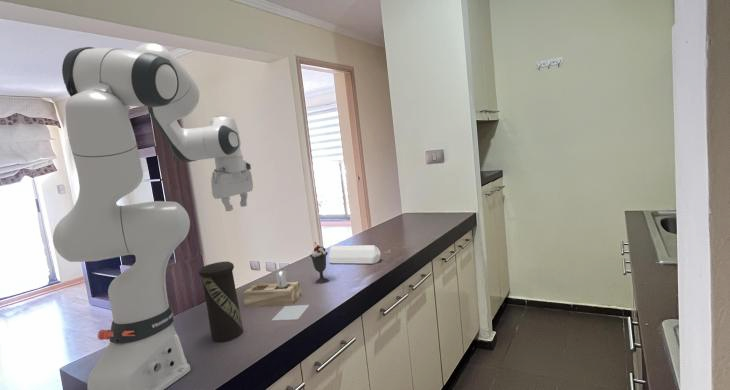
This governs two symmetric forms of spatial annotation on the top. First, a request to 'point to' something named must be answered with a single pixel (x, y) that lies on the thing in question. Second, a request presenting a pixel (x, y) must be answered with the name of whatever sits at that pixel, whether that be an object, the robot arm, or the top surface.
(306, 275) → the top surface
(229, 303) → the container
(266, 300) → the socket block
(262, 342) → the top surface
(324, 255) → the sundae
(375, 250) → the crystal
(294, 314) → the mat
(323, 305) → the top surface
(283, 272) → the peg
